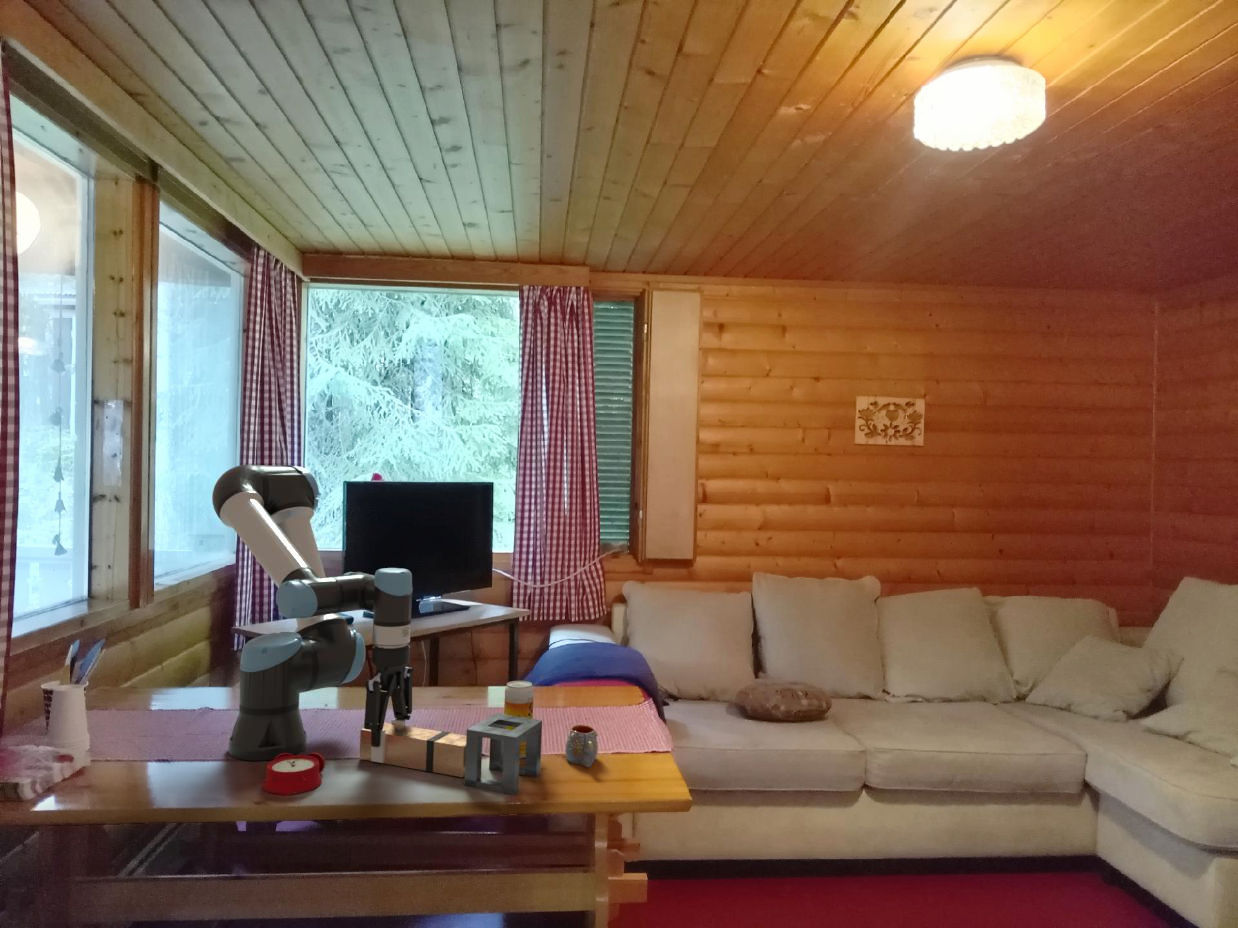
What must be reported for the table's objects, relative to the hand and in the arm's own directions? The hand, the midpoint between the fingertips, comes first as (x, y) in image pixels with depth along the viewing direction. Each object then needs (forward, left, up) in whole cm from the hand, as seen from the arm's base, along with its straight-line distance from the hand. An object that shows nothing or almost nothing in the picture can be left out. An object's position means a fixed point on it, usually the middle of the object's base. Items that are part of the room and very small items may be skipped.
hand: (387, 755), depth 176 cm
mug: (+37, +15, -1) cm, 40 cm away
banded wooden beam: (+7, 0, 0) cm, 7 cm away
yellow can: (+23, +14, -1) cm, 27 cm away
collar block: (+27, 0, 0) cm, 27 cm away
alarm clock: (-9, -17, -1) cm, 19 cm away
